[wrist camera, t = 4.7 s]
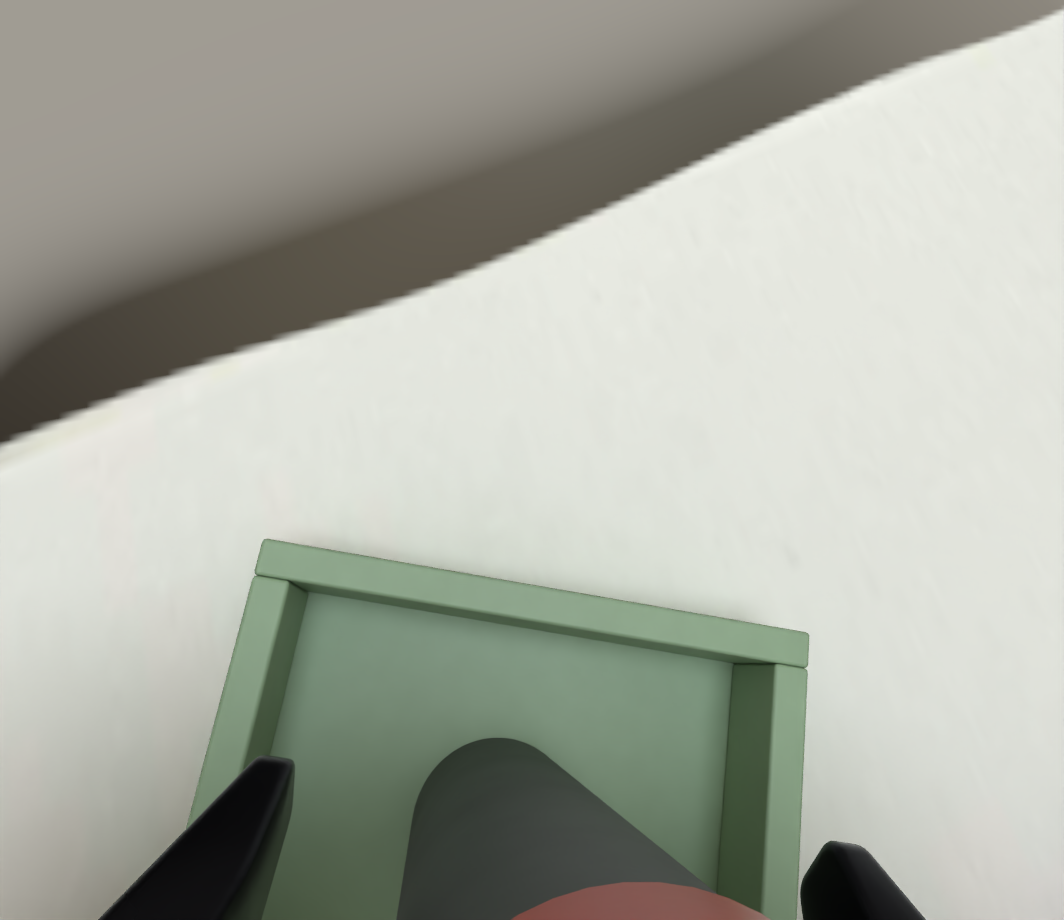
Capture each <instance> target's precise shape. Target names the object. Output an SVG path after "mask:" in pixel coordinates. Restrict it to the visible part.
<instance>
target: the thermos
mask: <svg viewBox="0 0 1064 920" xmlns="http://www.w3.org/2000/svg"><path fill="white" fill-rule="evenodd" d="M396 920H771V919H769V918H767V917H766V916H764V915H763V914H761V913H759V912H757V911H755V910H753V909H751V908H749V907H747V906H745V905H742V904H740V903H738V902H736V901H734V900H732V899H730V898H727V897H724V896H721V895H718V894H717V893H716V892H715V891H713V890H712V889H711V888H710V887H708V886H707V885H706V884H705V883H703V882H702V881H701V880H700V879H698V878H697V877H696V876H695V875H693V874H692V873H691V872H690V871H689V870H687V869H686V868H685V867H684V866H682V865H681V864H680V863H679V862H677V861H676V860H675V859H674V858H672V857H671V856H670V855H669V854H668V853H666V852H665V851H664V850H663V849H661V848H660V847H659V846H658V845H656V844H655V843H654V842H653V841H651V840H650V839H649V838H648V837H647V836H645V835H644V834H643V833H642V832H640V831H639V830H638V829H637V828H635V827H634V826H633V825H632V824H630V823H629V822H628V821H627V820H626V819H624V818H623V817H622V816H621V815H619V814H618V813H617V812H616V811H614V810H613V809H612V808H611V807H609V806H608V805H607V804H606V803H605V802H603V801H602V800H601V799H600V798H598V797H597V796H596V795H595V794H593V793H592V792H591V791H590V790H588V789H587V788H586V787H585V786H584V785H582V784H581V783H580V782H579V781H577V780H576V779H575V778H574V777H572V776H571V775H570V774H569V773H567V772H566V771H565V770H564V769H563V768H561V767H560V766H559V765H558V764H556V763H555V762H554V761H553V760H551V759H550V758H549V757H548V756H546V755H545V754H544V753H543V752H541V751H540V750H538V749H536V748H535V747H533V746H531V745H529V744H527V743H524V742H521V741H518V740H515V739H508V738H487V739H481V740H477V741H474V742H471V743H469V744H466V745H464V746H462V747H460V748H458V749H457V750H455V751H453V752H452V753H451V754H449V755H448V756H447V757H445V758H444V759H443V760H442V761H441V762H440V763H439V764H438V765H437V766H436V767H435V769H434V770H433V771H432V772H431V774H430V775H429V776H428V778H427V780H426V781H425V783H424V785H423V787H422V789H421V791H420V793H419V795H418V798H417V801H416V804H415V808H414V813H413V818H412V824H411V830H410V836H409V843H408V849H407V855H406V862H405V868H404V874H403V881H402V887H401V893H400V900H399V906H398V912H397V918H396Z"/></svg>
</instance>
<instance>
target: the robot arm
mask: <svg viewBox="0 0 1064 920" xmlns="http://www.w3.org/2000/svg"><path fill="white" fill-rule="evenodd" d="M294 780H295V763H294V761H293V760H292V759H289V758H283V757H276V756H270V755H261V756H259V757H257V758H256V759H254V760H253V761H252V762H251V763H250V764H249V765H248V766H247V767H246V768H245V769H244V770H243V771H242V772H241V773H240V774H239V775H238V777H237V778H236V779H235V780H234V781H233V782H232V783H231V784H230V785H229V786H228V787H227V788H226V789H225V790H224V791H223V792H222V793H221V794H220V795H219V796H218V797H217V798H216V799H215V800H214V801H213V802H212V803H211V804H210V805H209V806H208V807H207V808H206V809H205V810H204V811H203V812H202V814H201V815H200V816H199V817H198V818H197V819H196V820H195V821H194V822H193V823H192V824H191V825H190V826H189V827H188V828H187V829H186V830H185V831H184V832H183V833H182V834H181V835H180V836H179V837H178V838H177V839H176V840H175V841H174V842H173V843H172V844H171V845H170V846H169V847H168V848H167V849H166V851H165V852H164V853H163V854H162V855H161V856H160V857H159V858H158V859H157V860H156V861H155V862H154V863H153V864H152V865H151V866H150V867H149V868H148V869H147V870H146V871H145V872H144V873H143V874H142V875H141V876H140V877H139V878H138V879H137V880H136V881H135V882H134V883H133V884H132V885H131V886H130V888H129V889H128V890H127V891H126V892H125V893H124V894H123V895H122V896H121V897H120V898H119V899H118V900H117V901H116V902H115V903H114V904H113V905H112V906H111V907H110V908H109V909H108V910H107V911H106V912H105V913H104V914H103V915H102V916H101V917H100V918H99V919H98V920H262V916H263V913H264V909H265V906H266V902H267V899H268V895H269V892H270V888H271V885H272V881H273V878H274V874H275V871H276V867H277V864H278V860H279V857H280V853H281V850H282V846H283V843H284V839H285V836H286V832H287V829H288V825H289V822H290V818H291V813H292V807H293V795H294ZM800 897H801V906H802V914H803V920H926V919H925V918H924V917H923V916H922V915H921V914H920V912H919V911H918V910H917V909H916V908H915V906H914V905H913V904H912V903H911V902H910V900H909V899H908V898H907V897H906V896H905V895H904V893H903V892H902V891H901V890H900V889H899V887H898V886H897V885H896V884H895V883H894V881H893V880H892V879H891V878H890V877H889V876H888V874H887V873H886V872H885V871H884V870H883V868H882V867H881V866H880V865H879V864H878V863H877V861H876V860H875V859H874V858H873V857H872V855H871V854H870V853H869V852H868V851H867V850H866V849H864V848H863V847H861V846H859V845H856V844H851V843H844V842H838V841H830V842H827V843H826V844H825V845H824V846H823V847H822V849H821V850H820V852H819V854H818V855H817V857H816V858H815V860H814V861H813V863H812V865H811V866H810V868H809V869H808V871H807V873H806V874H805V876H804V878H803V881H802V884H801V891H800Z"/></svg>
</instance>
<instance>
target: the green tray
mask: <svg viewBox="0 0 1064 920" xmlns="http://www.w3.org/2000/svg"><path fill="white" fill-rule="evenodd" d="M255 574H256V575H258V576H254V578H253V579H252V583H251V587H250V591H249V594H248V598H247V602H246V606H245V609H244V613H243V617H242V621H241V624H240V628H239V632H238V636H237V639H236V643H235V647H234V651H233V654H232V658H231V662H230V666H229V669H228V673H227V677H226V681H225V684H224V688H223V692H222V696H221V699H220V703H219V707H218V711H217V714H216V718H215V722H214V726H213V730H212V733H211V737H210V741H209V745H208V748H207V752H206V756H205V760H204V763H203V767H202V771H201V775H200V778H199V782H198V786H197V790H196V793H195V797H194V801H193V805H192V808H191V812H190V816H189V820H188V823H187V827H186V829H187V828H188V827H189V826H190V825H191V824H192V823H193V822H194V821H195V820H196V819H197V818H198V817H199V816H200V815H201V814H202V812H203V811H204V810H205V809H206V808H207V807H208V806H209V805H210V804H211V803H212V802H213V801H214V800H215V799H216V798H217V797H218V796H219V795H220V794H221V793H222V792H223V791H224V790H225V789H226V788H227V787H228V786H229V785H230V784H231V783H232V782H233V781H234V780H235V779H236V778H237V777H238V775H239V774H240V773H241V772H242V771H243V770H244V769H245V768H246V767H247V766H248V765H249V764H250V763H251V762H252V761H253V760H254V759H256V758H257V757H259V756H261V755H270V756H276V757H283V758H289V759H292V760H293V761H294V763H295V780H294V795H293V807H292V813H291V818H290V822H289V825H288V829H287V832H286V836H285V839H284V843H283V846H282V850H281V853H280V857H279V860H278V864H277V867H276V871H275V874H274V878H273V881H272V885H271V888H270V892H269V895H268V899H267V902H266V906H265V909H264V913H263V916H262V920H396V918H397V912H398V906H399V900H400V893H401V887H402V881H403V874H404V868H405V862H406V855H407V849H408V843H409V836H410V830H411V824H412V818H413V813H414V808H415V804H416V801H417V798H418V795H419V793H420V791H421V789H422V787H423V785H424V783H425V781H426V780H427V778H428V776H429V775H430V774H431V772H432V771H433V770H434V769H435V767H436V766H437V765H438V764H439V763H440V762H441V761H442V760H443V759H444V758H445V757H447V756H448V755H449V754H451V753H452V752H453V751H455V750H457V749H458V748H460V747H462V746H464V745H466V744H469V743H471V742H474V741H477V740H481V739H487V738H508V739H515V740H518V741H521V742H524V743H527V744H529V745H531V746H533V747H535V748H536V749H538V750H540V751H541V752H543V753H544V754H545V755H546V756H548V757H549V758H550V759H551V760H553V761H554V762H555V763H556V764H558V765H559V766H560V767H561V768H563V769H564V770H565V771H566V772H567V773H569V774H570V775H571V776H572V777H574V778H575V779H576V780H577V781H579V782H580V783H581V784H582V785H584V786H585V787H586V788H587V789H588V790H590V791H591V792H592V793H593V794H595V795H596V796H597V797H598V798H600V799H601V800H602V801H603V802H605V803H606V804H607V805H608V806H609V807H611V808H612V809H613V810H614V811H616V812H617V813H618V814H619V815H621V816H622V817H623V818H624V819H626V820H627V821H628V822H629V823H630V824H632V825H633V826H634V827H635V828H637V829H638V830H639V831H640V832H642V833H643V834H644V835H645V836H647V837H648V838H649V839H650V840H651V841H653V842H654V843H655V844H656V845H658V846H659V847H660V848H661V849H663V850H664V851H665V852H666V853H668V854H669V855H670V856H671V857H672V858H674V859H675V860H676V861H677V862H679V863H680V864H681V865H682V866H684V867H685V868H686V869H687V870H689V871H690V872H691V873H692V874H693V875H695V876H696V877H697V878H698V879H700V880H701V881H702V882H703V883H705V884H706V885H707V886H708V887H710V888H711V889H712V890H713V891H715V892H716V893H717V894H718V895H721V896H724V897H727V898H730V899H732V900H734V901H736V902H738V903H740V904H742V905H745V906H747V907H749V908H751V909H753V910H755V911H757V912H759V913H761V914H763V915H764V916H766V917H767V918H769V919H771V920H796V918H797V896H798V874H799V851H800V829H801V807H802V784H803V762H804V740H805V717H806V695H807V670H806V669H805V668H806V667H807V666H808V651H809V634H808V633H806V632H801V631H795V630H790V629H784V628H778V627H772V626H767V625H761V624H755V623H749V622H744V621H738V620H732V619H726V618H721V617H715V616H709V615H703V614H697V613H692V612H686V611H680V610H674V609H669V608H663V607H657V606H651V605H646V604H640V603H634V602H628V601H623V600H617V599H611V598H605V597H600V596H594V595H588V594H582V593H577V592H571V591H565V590H559V589H553V588H548V587H542V586H536V585H530V584H525V583H519V582H513V581H507V580H502V579H496V578H490V577H484V576H479V575H473V574H467V573H461V572H456V571H450V570H444V569H438V568H433V567H427V566H421V565H415V564H409V563H404V562H398V561H392V560H386V559H381V558H375V557H369V556H363V555H358V554H352V553H346V552H340V551H335V550H329V549H323V548H317V547H312V546H306V545H300V544H294V543H289V542H283V541H277V540H271V539H264V540H263V542H262V545H261V549H260V552H259V556H258V560H257V564H256V568H255Z"/></svg>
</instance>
